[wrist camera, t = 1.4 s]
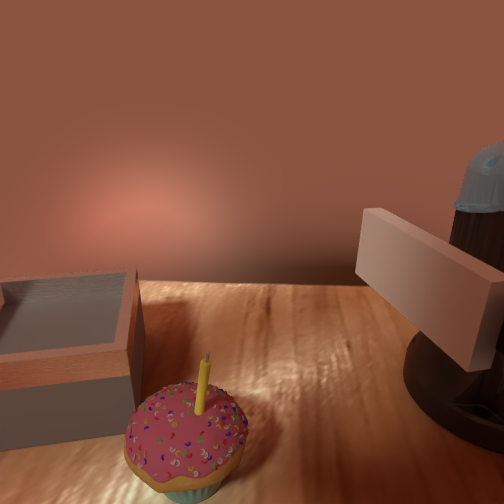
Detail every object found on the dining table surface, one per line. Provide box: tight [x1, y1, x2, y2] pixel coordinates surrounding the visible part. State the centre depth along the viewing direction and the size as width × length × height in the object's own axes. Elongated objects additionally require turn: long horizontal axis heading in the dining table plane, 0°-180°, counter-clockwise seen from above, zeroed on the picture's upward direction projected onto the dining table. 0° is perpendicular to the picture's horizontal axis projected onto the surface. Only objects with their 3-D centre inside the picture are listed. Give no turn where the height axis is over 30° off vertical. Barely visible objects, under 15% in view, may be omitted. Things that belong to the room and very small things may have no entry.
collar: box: [0, 267, 139, 391], centre depth 38 cm, size 14×14×2 cm
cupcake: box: [124, 352, 249, 504], centre depth 30 cm, size 9×8×12 cm
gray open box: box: [0, 289, 145, 451], centre depth 40 cm, size 14×14×6 cm
